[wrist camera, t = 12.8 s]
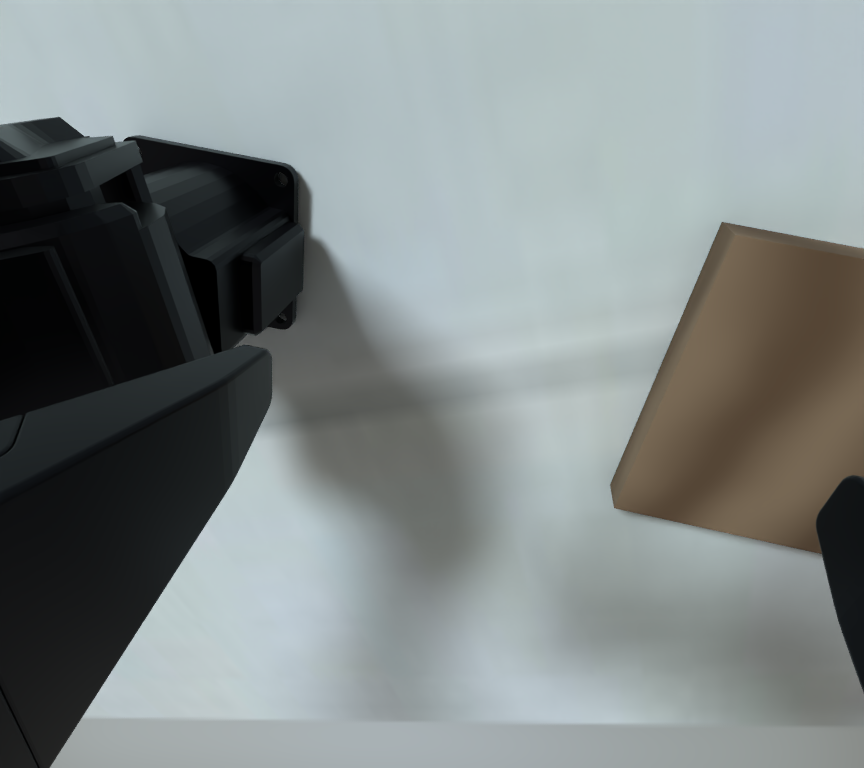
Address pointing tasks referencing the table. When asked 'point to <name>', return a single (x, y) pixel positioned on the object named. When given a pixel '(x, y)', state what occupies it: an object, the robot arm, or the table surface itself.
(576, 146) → the table surface
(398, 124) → the table surface
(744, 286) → the mount board
